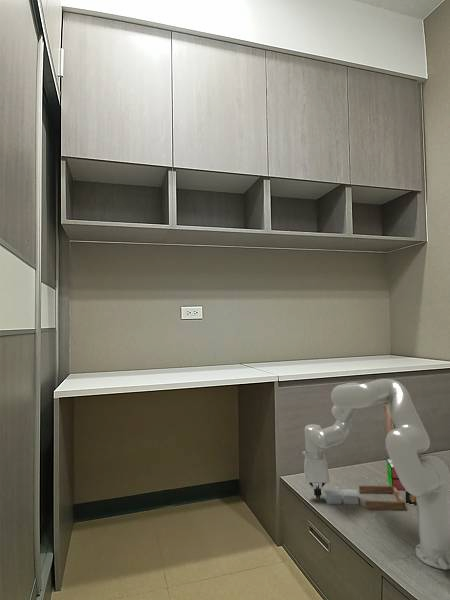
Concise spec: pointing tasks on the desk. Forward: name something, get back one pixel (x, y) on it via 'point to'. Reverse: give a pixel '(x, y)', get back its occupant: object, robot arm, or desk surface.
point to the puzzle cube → (393, 476)
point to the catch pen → (383, 504)
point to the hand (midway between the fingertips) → (318, 497)
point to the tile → (350, 496)
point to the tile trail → (332, 496)
